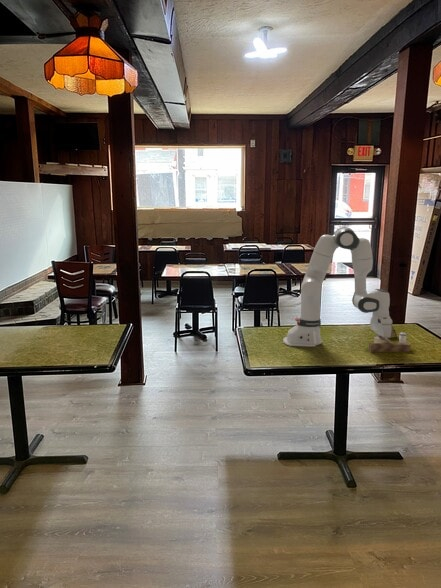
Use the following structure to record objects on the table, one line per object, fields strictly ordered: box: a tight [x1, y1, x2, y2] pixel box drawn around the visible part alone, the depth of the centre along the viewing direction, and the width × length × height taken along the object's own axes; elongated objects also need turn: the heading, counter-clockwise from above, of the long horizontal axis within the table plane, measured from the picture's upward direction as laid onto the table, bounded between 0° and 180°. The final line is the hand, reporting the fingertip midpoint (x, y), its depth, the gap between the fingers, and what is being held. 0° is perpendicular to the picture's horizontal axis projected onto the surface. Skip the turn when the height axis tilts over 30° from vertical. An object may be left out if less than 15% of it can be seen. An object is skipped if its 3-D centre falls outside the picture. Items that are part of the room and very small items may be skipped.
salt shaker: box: [398, 331, 408, 343], centre depth 244 cm, size 4×4×8 cm
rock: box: [387, 323, 398, 339], centre depth 261 cm, size 11×9×10 cm
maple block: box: [373, 336, 392, 343], centre depth 243 cm, size 6×8×5 cm
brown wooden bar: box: [368, 342, 412, 353], centre depth 238 cm, size 22×3×4 cm, turn 92°
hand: (379, 340), depth 248 cm, fingers closed
